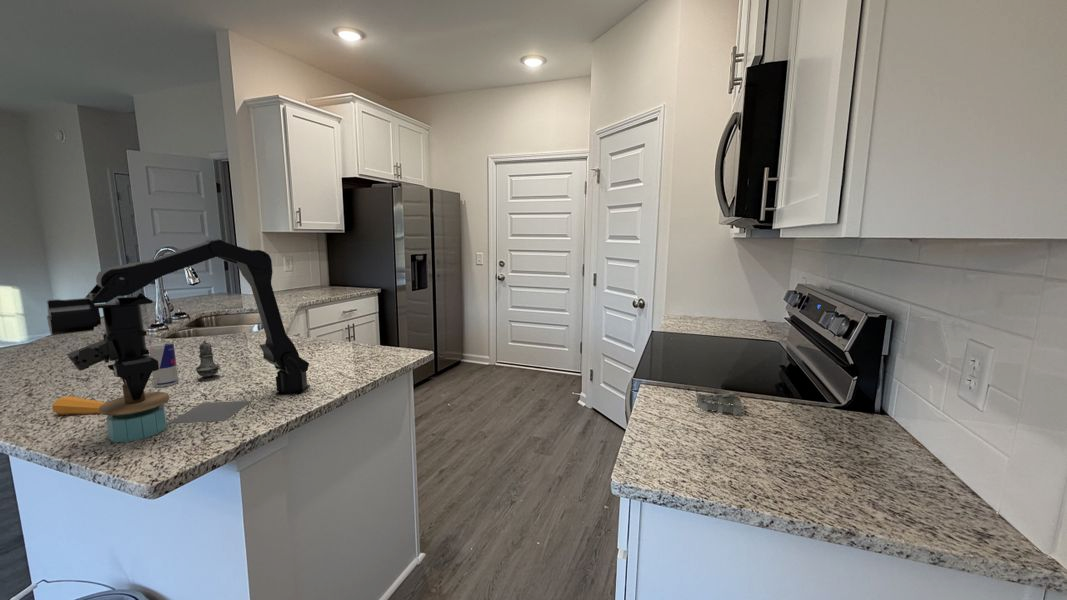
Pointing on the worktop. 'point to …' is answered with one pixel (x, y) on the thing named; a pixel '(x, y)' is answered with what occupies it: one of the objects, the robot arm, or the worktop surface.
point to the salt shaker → (207, 363)
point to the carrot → (76, 406)
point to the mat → (211, 412)
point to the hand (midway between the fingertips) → (134, 397)
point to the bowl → (136, 424)
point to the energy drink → (164, 364)
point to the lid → (133, 403)
